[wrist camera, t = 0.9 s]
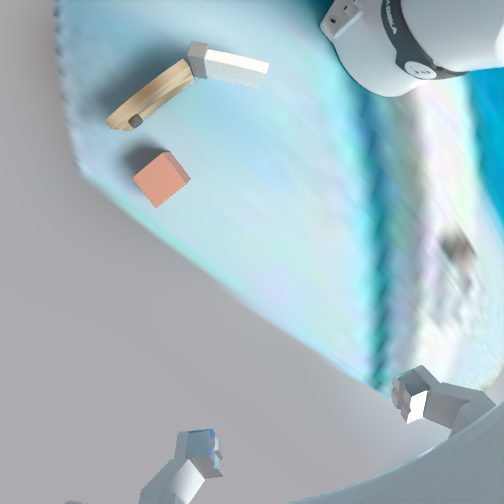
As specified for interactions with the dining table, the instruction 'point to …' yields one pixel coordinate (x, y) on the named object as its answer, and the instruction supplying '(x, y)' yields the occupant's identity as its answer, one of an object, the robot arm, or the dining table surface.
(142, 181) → the salmon pink block
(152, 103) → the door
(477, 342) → the dining table surface
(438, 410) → the robot arm
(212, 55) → the light grey slab
